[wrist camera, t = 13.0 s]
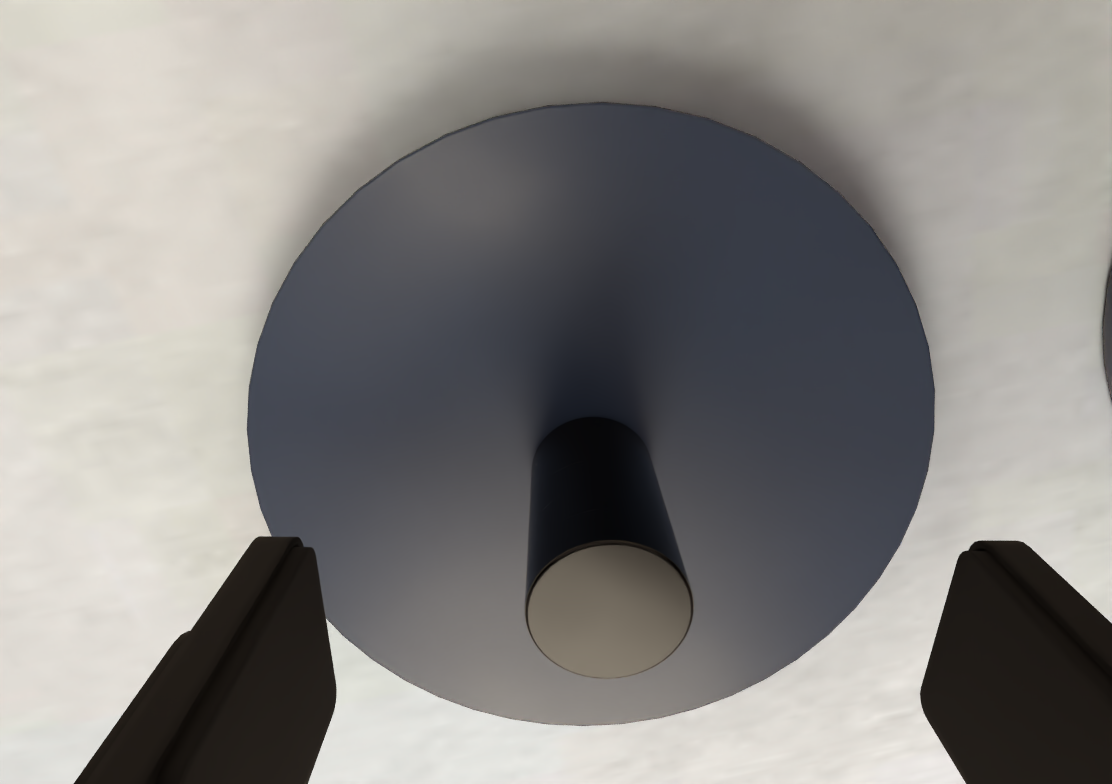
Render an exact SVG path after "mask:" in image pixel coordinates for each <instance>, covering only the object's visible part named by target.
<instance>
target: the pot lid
mask: <svg viewBox="0 0 1112 784" xmlns="http://www.w3.org/2000/svg"><path fill="white" fill-rule="evenodd" d="M934 404H935V388H934V381H933V374H932V367H931V359H930V352H929V346H928V343H927V340H926V336H925V333H924V329H923V326H922V323H921V319H920V316H919V313H918V309H917V306H916V304H915V301H914V299H913V297H912V295H911V293H910V291H909V289H908V287H907V285H906V283H905V280H904V278H903V276H902V274H901V272H900V270H899V268H898V266H897V264H896V263H895V261H894V260H893V258H892V257H891V255H890V254H889V252H888V251H887V249H886V248H885V246H884V245H883V243H882V242H881V240H880V239H879V238H878V236H877V235H876V233H875V232H874V230H873V229H872V227H871V226H870V225H869V224H868V223H867V222H866V221H865V220H864V219H863V218H862V216H861V215H860V214H859V213H858V212H857V211H856V210H855V209H854V208H853V207H852V206H851V205H850V204H849V203H848V202H847V200H846V199H845V198H844V197H843V196H842V195H841V194H840V193H839V192H838V191H837V190H835V189H834V188H833V187H832V186H830V185H829V184H828V183H826V182H825V181H824V180H823V179H821V178H820V177H819V176H818V175H816V174H815V173H814V172H812V171H811V170H810V169H809V168H807V167H806V166H805V165H804V164H802V163H801V162H800V161H798V160H796V159H794V158H793V157H791V156H789V155H787V154H786V153H784V152H782V151H780V150H779V149H777V148H775V147H773V146H771V145H770V144H768V143H766V142H764V141H763V140H761V139H759V138H757V137H755V136H753V135H750V134H748V133H745V132H743V131H740V130H737V129H735V128H732V127H730V126H727V125H724V124H722V123H719V122H717V121H714V120H711V119H709V118H705V117H701V116H697V115H692V114H688V113H683V112H679V111H674V110H670V109H666V108H661V107H657V106H646V105H634V104H621V103H608V102H594V103H578V104H563V105H548V106H543V107H538V108H533V109H528V110H524V111H519V112H514V113H509V114H504V115H500V116H495V117H492V118H490V119H487V120H484V121H481V122H478V123H476V124H473V125H470V126H467V127H465V128H462V129H459V130H456V131H454V132H451V133H448V134H445V135H443V136H442V137H440V138H438V139H436V140H434V141H432V142H430V143H428V144H427V145H425V146H423V147H421V148H419V149H417V150H415V151H413V152H411V153H410V154H408V155H406V156H404V157H402V158H400V159H399V160H397V161H396V162H394V163H393V164H392V165H390V166H389V167H388V168H386V169H385V170H384V171H382V172H381V173H380V174H378V175H377V176H375V177H374V178H373V179H371V180H370V181H369V182H367V183H366V184H365V185H363V186H362V187H360V188H359V189H358V190H357V191H356V192H355V193H354V194H353V195H352V196H351V197H350V198H349V199H348V200H347V201H346V202H345V203H344V204H343V205H342V206H341V207H340V208H339V209H338V210H337V211H336V212H335V213H334V214H333V215H332V216H330V217H329V218H328V219H327V220H326V221H325V222H324V223H323V225H322V226H321V227H320V229H319V230H318V231H317V233H316V234H315V235H314V237H313V238H312V239H311V241H310V242H309V243H308V245H307V246H306V247H305V249H304V250H303V251H302V253H301V254H300V255H299V257H298V258H297V259H296V261H295V262H294V264H293V265H292V267H291V269H290V271H289V273H288V275H287V277H286V278H285V280H284V282H283V284H282V286H281V288H280V290H279V291H278V293H277V295H276V297H275V299H274V301H273V302H272V305H271V308H270V311H269V313H268V316H267V319H266V322H265V325H264V327H263V330H262V333H261V336H260V338H259V341H258V344H257V349H256V354H255V359H254V364H253V369H252V374H251V379H250V384H249V396H248V417H247V435H248V445H249V455H250V464H251V472H252V476H253V480H254V484H255V488H256V492H257V496H258V500H259V504H260V508H261V511H262V513H263V516H264V518H265V521H266V523H267V526H268V528H269V531H270V533H271V536H272V537H299V538H300V539H301V541H302V542H303V546H304V547H312V548H313V549H314V551H315V554H316V559H317V565H318V572H319V578H320V585H321V591H322V598H323V604H324V611H325V617H326V619H327V620H328V621H329V622H330V623H331V624H332V625H333V626H334V627H335V628H336V629H337V630H338V631H339V632H340V633H341V634H342V635H343V636H344V637H345V638H346V639H348V640H349V641H350V642H351V643H353V644H354V645H355V646H356V647H358V648H359V649H360V650H361V651H362V652H364V653H365V654H366V655H367V656H369V657H370V658H371V659H372V660H374V661H375V662H377V663H378V664H380V665H382V666H383V667H385V668H386V669H388V670H389V671H391V672H393V673H394V674H396V675H397V676H399V677H400V678H402V679H404V680H405V681H407V682H409V683H411V684H413V685H415V686H417V687H419V688H422V689H424V690H426V691H428V692H430V693H432V694H434V695H436V696H438V697H440V698H443V699H446V700H449V701H451V702H454V703H457V704H460V705H462V706H465V707H468V708H470V709H473V710H477V711H481V712H485V713H489V714H493V715H497V716H501V717H505V718H509V719H515V720H522V721H529V722H535V723H542V724H554V725H576V726H591V725H610V724H624V723H631V722H637V721H644V720H650V719H657V718H662V717H666V716H670V715H673V714H677V713H681V712H685V711H689V710H693V709H696V708H699V707H702V706H705V705H707V704H710V703H713V702H716V701H718V700H721V699H724V698H727V697H729V696H732V695H734V694H736V693H738V692H740V691H742V690H744V689H746V688H748V687H750V686H752V685H754V684H756V683H758V682H761V681H763V680H765V679H766V678H768V677H770V676H771V675H773V674H774V673H776V672H778V671H779V670H781V669H782V668H784V667H786V666H787V665H789V664H790V663H792V662H794V661H795V660H797V659H798V658H800V657H801V656H802V655H803V654H805V653H806V652H807V651H808V650H810V649H811V648H812V647H814V646H815V645H816V644H817V643H819V642H820V641H821V640H822V639H824V638H825V637H826V636H828V635H829V634H830V633H831V632H832V631H833V630H834V629H835V628H836V627H837V626H838V625H839V624H840V623H841V622H842V621H843V620H844V619H845V618H846V617H847V616H848V615H849V614H850V613H851V612H852V611H853V610H854V609H855V608H856V607H857V605H858V604H859V603H860V602H861V600H862V599H863V598H864V597H865V595H866V594H867V593H868V592H869V590H870V589H871V588H872V587H873V586H874V584H875V583H876V582H877V581H878V579H879V578H880V576H881V575H882V573H883V572H884V570H885V568H886V567H887V565H888V563H889V562H890V560H891V559H892V557H893V555H894V554H895V552H896V551H897V549H898V547H899V546H900V544H901V542H902V539H903V537H904V535H905V533H906V531H907V528H908V526H909V524H910V522H911V520H912V517H913V515H914V513H915V511H916V509H917V505H918V502H919V499H920V495H921V492H922V489H923V485H924V482H925V479H926V476H927V472H928V467H929V461H930V454H931V448H932V442H933V435H934Z"/></svg>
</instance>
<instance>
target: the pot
mask: <svg viewBox="0 0 1112 784" xmlns="http://www.w3.org/2000/svg"><path fill="white" fill-rule="evenodd" d="M1103 340H1104V365H1105V370H1106V375H1107V380H1108V385H1109V390H1110V395H1111V399H1112V270H1111V274H1110V278H1109V282H1108V286H1107V294H1106V304H1105V314H1104V323H1103Z"/></svg>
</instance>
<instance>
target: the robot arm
mask: <svg viewBox="0 0 1112 784" xmlns="http://www.w3.org/2000/svg"><path fill="white" fill-rule="evenodd" d="M920 697H921V704H922V708H923V711H924V714H925V716H926V718H927V720H928V721H929V723H930V725H931V726H932V728H933V729H934V731H935V733H936V734H937V736H938V738H939V739H940V741H941V743H942V744H943V746H944V748H945V749H946V751H947V753H948V754H949V756H950V758H951V759H952V761H953V763H954V764H955V766H956V767H957V769H958V771H959V772H960V774H961V776H962V777H963V779H964V781H965V782H966V784H1112V623H1111V622H1109V621H1108V620H1107V619H1106V618H1105V617H1104V616H1103V615H1102V614H1101V613H1100V612H1099V611H1098V610H1097V609H1096V608H1094V607H1093V606H1092V605H1091V604H1090V603H1089V602H1088V601H1087V600H1086V599H1085V598H1084V597H1083V596H1082V595H1080V594H1079V593H1078V592H1077V591H1076V590H1075V589H1074V588H1073V587H1072V586H1071V585H1070V584H1069V583H1068V582H1067V581H1065V580H1064V579H1063V578H1062V577H1061V576H1060V575H1059V574H1058V573H1057V572H1056V571H1055V570H1054V569H1053V568H1052V567H1050V566H1049V565H1048V564H1047V563H1046V562H1045V561H1044V560H1043V559H1042V558H1041V557H1040V556H1039V555H1038V554H1037V553H1035V552H1034V551H1033V550H1032V549H1031V548H1030V547H1029V546H1028V545H1026V544H1025V543H1023V542H1020V541H977V542H974V543H973V544H972V545H971V546H970V548H969V551H964V552H962V553H961V554H960V556H959V558H958V560H957V564H956V567H955V571H954V574H953V578H952V581H951V585H950V588H949V592H948V595H947V599H946V602H945V606H944V609H943V613H942V616H941V620H940V623H939V627H938V630H937V634H936V637H935V641H934V644H933V648H932V651H931V655H930V658H929V662H928V665H927V669H926V672H925V676H924V679H923V683H922V686H921V692H920ZM335 703H336V681H335V675H334V668H333V662H332V656H331V649H330V643H329V636H328V630H327V623H326V617H325V611H324V604H323V598H322V591H321V585H320V578H319V572H318V565H317V559H316V554H315V551H314V549H313V548H312V547H304V546H303V542H302V541H301V539H300V538H299V537H257V538H256V539H255V540H254V541H253V542H252V543H251V544H250V546H249V547H248V549H247V550H246V552H245V553H244V555H243V556H242V557H241V559H240V560H239V562H238V563H237V565H236V566H235V568H234V569H233V570H232V572H231V573H230V575H229V576H228V578H227V579H226V581H225V582H224V583H223V585H222V586H221V588H220V589H219V591H218V592H217V594H216V595H215V596H214V598H213V599H212V601H211V602H210V604H209V605H208V607H207V608H206V609H205V611H204V612H203V614H202V615H201V617H200V618H199V620H198V621H197V622H196V624H195V625H194V627H193V628H192V630H191V631H188V632H186V633H184V634H182V635H180V637H179V638H178V639H177V640H176V641H175V642H174V643H173V644H172V646H171V647H170V649H169V650H168V651H167V653H166V654H165V656H164V657H163V658H162V660H161V661H160V663H159V664H158V665H157V667H156V668H155V670H154V671H153V673H152V674H151V675H150V677H149V678H148V680H147V681H146V682H145V684H144V685H143V687H142V688H141V689H140V691H139V692H138V694H137V695H136V697H135V698H134V699H133V701H132V702H131V704H130V705H129V706H128V708H127V709H126V711H125V712H124V713H123V715H122V716H121V718H120V719H119V721H118V722H117V723H116V725H115V726H114V728H113V729H112V730H111V732H110V733H109V735H108V736H107V737H106V739H105V740H104V742H103V743H102V745H101V746H100V747H99V749H98V750H97V752H96V753H95V754H94V756H93V757H92V759H91V760H90V761H89V763H88V764H87V766H86V767H85V768H84V770H83V771H82V773H81V774H80V776H79V777H78V778H77V780H76V781H75V783H74V784H308V781H309V778H310V776H311V773H312V770H313V768H314V765H315V762H316V759H317V757H318V754H319V751H320V748H321V746H322V743H323V740H324V737H325V735H326V732H327V729H328V726H329V724H330V721H331V718H332V715H333V712H334V708H335Z"/></svg>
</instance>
